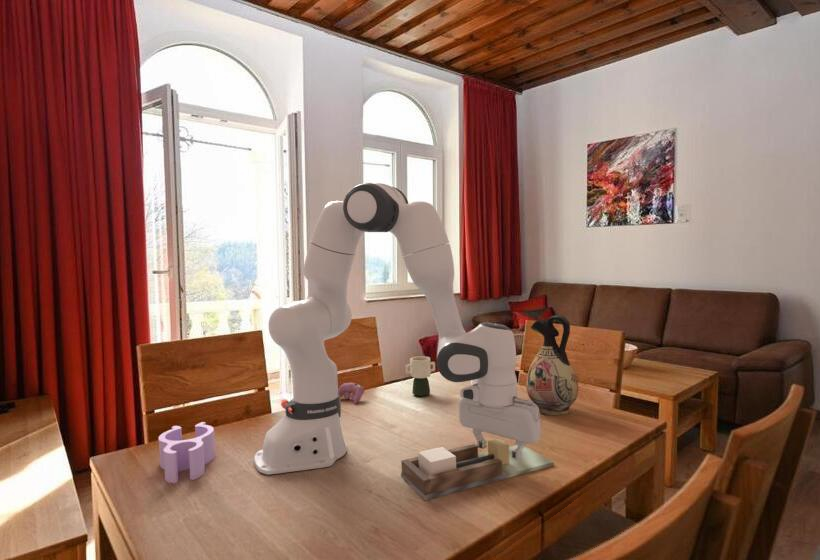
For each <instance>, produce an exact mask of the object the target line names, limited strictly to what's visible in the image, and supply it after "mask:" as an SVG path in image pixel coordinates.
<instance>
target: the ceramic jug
mask: <svg viewBox="0 0 820 560" xmlns="http://www.w3.org/2000/svg"><path fill="white" fill-rule="evenodd" d="M555 322H556V323H559V324H561V325H562V328H563V330H562V331H563V332H562V336H561V340H560V343H559V344H558V343H557V340H556V337H559V336H560V332H559V330H558V329H557V328H556V327H555V326H554V323H555ZM530 329H531V330H532V331H535V332H537V333H539V334H541V335H542V336H543V344H542V346H541V347H540V349H539V350H538V352H537V353H536V355H535V357H534V358H533V360H532V362H531V364H530V366H529V369H528V372H527V376H526V381H525V382H526V383H525V385H526V386H525V387H526V392H527V396H528V398H529V400H532V401H533V403H535V404H536V405H537V406H538V408H539V414H544V415H549V416H561V415H567V414H569V412H570V407H571V406H572V405H573V404H574V403H575V402H576V400H577V398H578V395H579V389H580V387H579V381H578V376H577V374H576V372H575V370H574V367H573V365H572V363H571V362H570V360H569V357H568V354H567V351H566V349H567V343H568V340H569V337H570V334H571V325H570V321H569V320H568V319H567V318H566V317H565V316H563V315H561V314H554V315H551V316H550V317H548V318H547V320H546V318H545V317H542V319H541V320H538V319H537V320H535V321H534V322H533V323H532V325H531V326H530Z"/></svg>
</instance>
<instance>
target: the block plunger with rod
mask: <svg viewBox="0 0 820 560" xmlns="http://www.w3.org/2000/svg"><path fill="white" fill-rule="evenodd" d="M509 447H510V444H509V443H507V442H505V441H503V440H502V439H501V438H496V439H492V440H491V439H490V440H487V452H488V455H487V456H483V457H479V458H474V459H470V460H466V461H462V462H458V463H456V456H455V455H453V454H452V453H450V452H449V451H448V450H449V449H446V448H445V447H443V446H441V447H435V448H431V449H425V450H422V451H418V453H417V455H418V456H417V457H418V459H419V469H420V470H421V471H422V472H423V473H424V474H425V475H426V476H429V475H433V474H437V473H442V472H446V471H450V470H454V469H456V468H458V467H462V466H466V465H470V464H474V463H478V462H482V461H486V460H494V459H499V460H501V461H502V465H505V464H509Z"/></svg>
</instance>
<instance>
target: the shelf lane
mask: <svg viewBox="0 0 820 560" xmlns="http://www.w3.org/2000/svg"><path fill="white" fill-rule="evenodd" d="M517 447H518V445H516V444H515V445H513V446H512V445H511V446H509V464H505V465H502V461H501V460H499V459H494V460H486V461H482V462H478V463H474V464H470V465H466V466H462V467H458V468H456V469H454V470H450V471H446V472H442V473H437V474H433V475H429V476H426V475H425V474H424V473H423V472H422V471H421V470H420V469H419V459H418V456H416V457H411V458H407V459H402V460H401V461H400V462H401V472H400V478H402V479H403V480H404V481H405V482H406V483H407V484H408V485H409V486H410V488H412V489H414V491H415V492H416V493H418V495H420V497H421V498H422V499H424V500H425V501H428V500H431V499H435V498H439V497H443V496H446V495H449V494H454V493H457V492H462V491H464V490H467V489H472V488H475V487H479V486H483V485H487V484H490V483H494V482H497V481H501V480H505V479H509V478H512V477H515V476H520V475H524V474H527V473H531V472H534V471H539V470H542V469H546V468H549V467H553V466H555V462H554V461H553V460H551V459H549V458H547V457H545V456H543V455H542V454H540V453H538V452H536V451H534V450H532V449H531V448H529V447H526V445H525V446H524V448H523V450H522V457H521V459H519V460H517V459H514V458H512V451H513V450H515V449H517ZM447 450H448V451H449V452H450V453H452V454H453V455H455V456H456V463H458V462H462V461H466V460H470V459H474V458H479V457H483V456H487V455H488V451H487V452H483V453H479V448H478V446H477V444H475V443H473V444H468V445H465V446H464V445H463V446H460V447H455V448H451V449H447Z"/></svg>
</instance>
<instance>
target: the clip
mask: <svg viewBox="0 0 820 560" xmlns="http://www.w3.org/2000/svg"><path fill="white" fill-rule="evenodd" d="M182 429H183V427H181V426H179V425H173V426H171V429H168V430H167V431H164V432H162V433H161V434H160V435H159V436H158V448H159V449H158V451H159V453H158V455H159V467H160V468H161V469H163V470H164V469H165V470H164V480H165V481H166V483H169V482H170V484H176V483H178V482H179V473H180V472H183V470H184V471H188V469H190V470H189V480H191V481H192V480H194V481H195V480H197V479H198V478H201V477H202V476H203V475H204V474H205V472H206V471H205V469H206V468H205V466H206V465H207V464H208V463H211V462H212V461H213V460H214V459H215V458H216V449H215V448H216V446H215V445H216V444H215V430H214V426H212V425H208V424H206V422H205V421H201V422H199V423H196V424H195V425H194V430H195V431H194V432H195V433H194V434H195V437H193V438H190V439H189V438H188V439H184V440H183V434H182V433H183V432H182Z"/></svg>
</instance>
